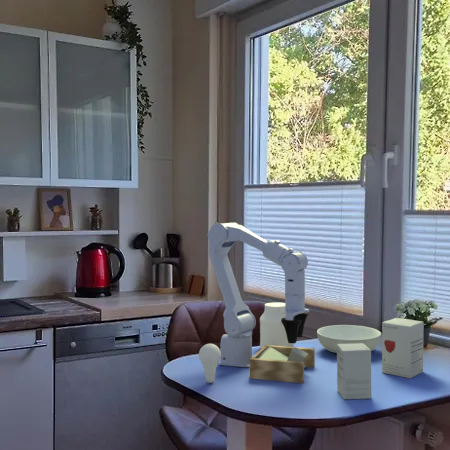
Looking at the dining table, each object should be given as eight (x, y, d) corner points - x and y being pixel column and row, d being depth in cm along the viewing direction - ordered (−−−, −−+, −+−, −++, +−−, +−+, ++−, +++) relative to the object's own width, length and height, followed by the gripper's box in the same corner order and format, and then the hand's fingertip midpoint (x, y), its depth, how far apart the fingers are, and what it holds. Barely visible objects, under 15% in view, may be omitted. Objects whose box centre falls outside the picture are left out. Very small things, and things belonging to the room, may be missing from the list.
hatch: (255, 359, 168) (256, 357, 168) (267, 348, 181) (269, 346, 180) (295, 380, 165) (296, 377, 164) (304, 367, 177) (305, 365, 177)
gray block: (284, 365, 170) (291, 350, 169) (288, 361, 174) (294, 346, 173) (298, 372, 169) (305, 357, 168) (301, 368, 173) (308, 353, 172)
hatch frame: (249, 378, 167) (249, 359, 167) (266, 362, 183) (265, 344, 183) (302, 383, 162) (302, 363, 162) (314, 366, 178) (314, 348, 178)
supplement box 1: (364, 389, 156) (364, 342, 155) (371, 399, 148) (371, 349, 148) (336, 390, 156) (336, 343, 155) (342, 399, 148) (342, 350, 148)
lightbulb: (205, 387, 159) (204, 347, 158) (195, 381, 164) (195, 342, 164) (225, 384, 162) (224, 344, 161) (215, 378, 167) (214, 340, 167)
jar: (275, 353, 193) (274, 308, 193) (255, 348, 201) (254, 304, 200) (298, 347, 201) (298, 304, 200) (278, 342, 208) (278, 300, 208)
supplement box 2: (380, 372, 171) (380, 321, 170) (395, 366, 177) (395, 317, 177) (410, 379, 164) (410, 326, 164) (424, 372, 171) (424, 321, 170)
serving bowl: (306, 354, 192) (306, 333, 192) (333, 341, 209) (332, 322, 209) (367, 364, 180) (367, 341, 180) (390, 349, 197) (390, 329, 197)
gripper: (303, 298, 163) (303, 346, 163) (313, 290, 176) (313, 335, 177) (278, 297, 165) (278, 345, 166) (290, 289, 179) (290, 333, 179)
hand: (295, 340), depth 172 cm, fingers open, 7 cm apart
